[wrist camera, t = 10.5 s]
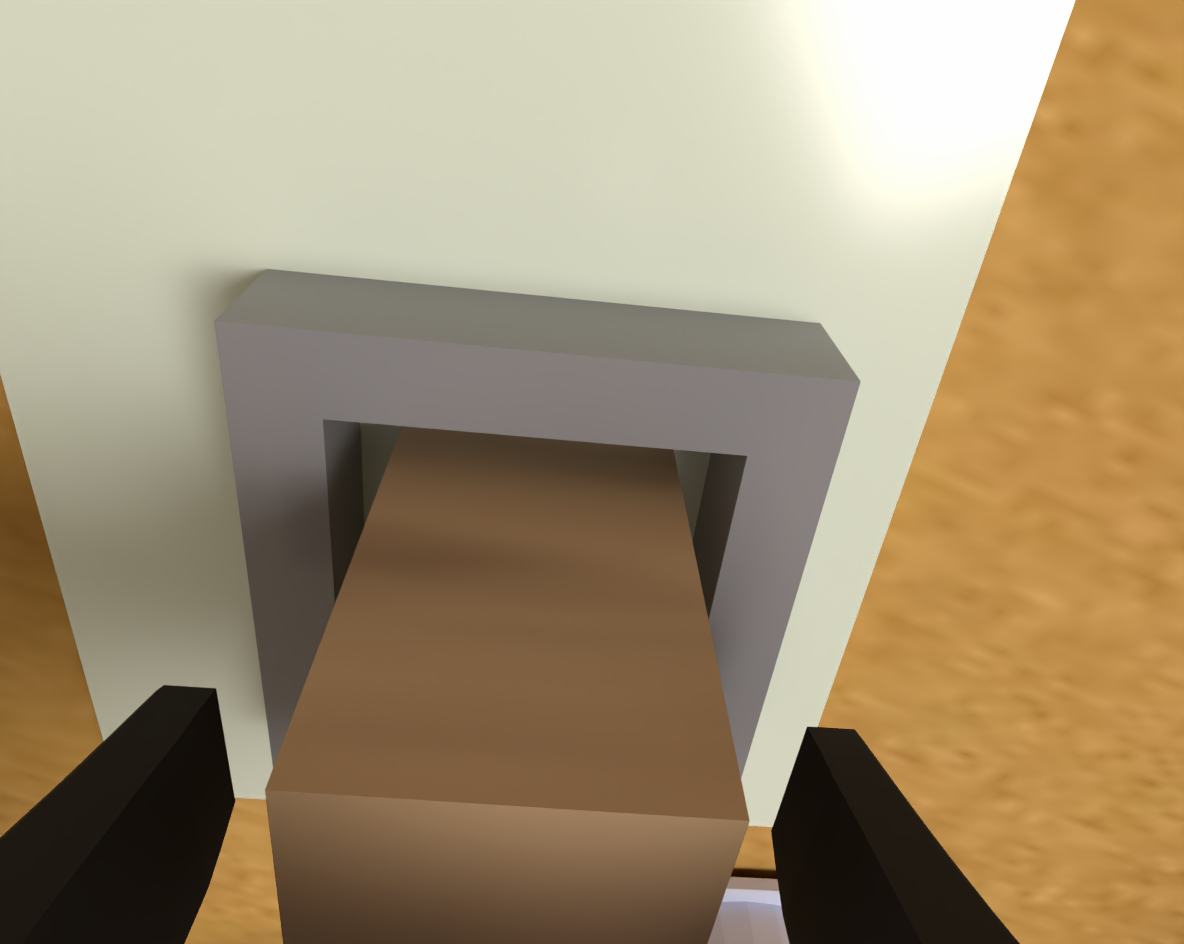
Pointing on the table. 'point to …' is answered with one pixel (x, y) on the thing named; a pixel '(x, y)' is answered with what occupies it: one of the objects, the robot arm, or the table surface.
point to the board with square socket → (484, 298)
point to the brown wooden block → (512, 711)
